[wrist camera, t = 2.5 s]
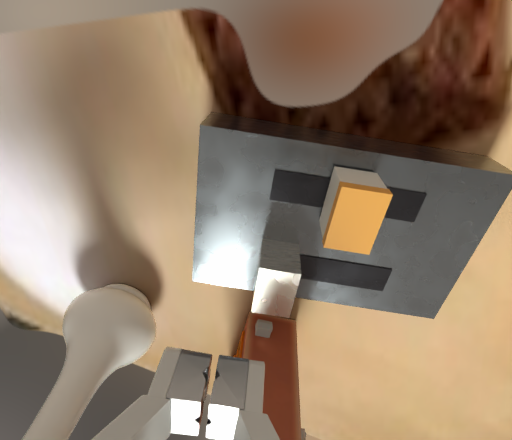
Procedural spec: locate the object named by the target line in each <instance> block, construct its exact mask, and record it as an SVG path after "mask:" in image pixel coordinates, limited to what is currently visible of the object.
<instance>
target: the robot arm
mask: <svg viewBox="0 0 512 440" xmlns="http://www.w3.org/2000/svg"><path fill="white" fill-rule="evenodd" d="M211 361H212V354H207V353H201V352H195V351H190V350H184V349H179V348H172V347H166V349H165V350H164V352H163V355H162V357H161V360H160V363H159V365H158V368H157V371H156V373H155V376H154V379H153V381H152V384H151V387H150V389H149V392H148V395H142V396H141V397H140V398H138V399H137V400H136V401H135V402H134V403H133V404H132V405H130V406H129V407H128V408H127V409H126V410H125V411H124V412H122V413H121V414H120V415H119V416H118V417H117V418H116V419H114V420H113V421H112V422H111V423H110V424H109V425H108V426H107V427H105V428H104V429H103V430H102V431H101V432H100V433H98V434H97V435H96V436H95V437H94V438H93V439H92V440H166V439H167V438H168V437H169V435H170V433H177V434H186V435H195V436H198V432H199V427H200V423H201V418H202V413H203V403H204V400H205V399H206V394H207V389H208V384H209V378H210V371H211V369H210V366H211ZM264 376H265V363H264V362H263V361H255V360H249V359H245V358H238V357H230V356H223V355H219V359H218V364H217V369H216V376H215V381H214V384H213V389H212V394H211V400H210V405H209V413H208V422H207V430H206V437H207V438H213V439H218V440H280V439H279V437H278V435H277V433H276V431H275V429H274V427H273V425H272V423H271V421H270V419H269V417H268V415H267V414H264V413H263V394H264Z"/></svg>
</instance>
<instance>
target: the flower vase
mask: <svg viewBox="0 0 512 440" xmlns="http://www.w3.org/2000/svg"><path fill="white" fill-rule="evenodd" d="M62 329H63V335H64V340H65V343H66V345H67V353H66V360H65V363H64V366H63V369H62V371H61V373H60V376H59V378H58V380H57V382H56V383H55V385H54V387H53V389H52V391H51V392H50V394H49V396H48V397H47V399H46V401H45V403H44V404H43V406H42V408H41V409H40V411H39V413H38V414H37V416H36V418H35V419H34V421H33V423H32V424H31V426H30V428H29V429H28V431H27V432H26V434H25V435H24V437H23V438H22V440H68V438H69V437H70V435H71V433H72V431H73V430H74V428H75V426H76V424H77V423H78V421H79V419H80V417H81V415H82V414H83V412H84V410H85V408H86V407H87V405H88V403H89V401H90V400H91V398H92V397H93V395H94V394H95V392H96V391H97V389H98V388H99V387H100V385H101V384H102V382H103V381H104V380H105V379H106V378H107V377H108V376H109V375H110V374H111V373H113V372H114V371H115V370H116V369H118V368H120V367H124V366H126V365H128V364H131V363H133V362H135V361H136V360H138V359H140V358H141V357H142V356H143V355H144V354H145V353H146V352H147V351H148V350H149V349H150V347H151V346H152V344H153V342H154V339H155V337H156V322H155V319H154V316H153V313H152V311H151V306H150V303H149V301H148V299H147V298H146V296H145V295H144V294H143V293H141V292H140V291H139V290H137V289H136V288H134V287H131V286H129V285H125V284H110V285H106V286H105V287H103V288H97V289H93V290H89V291H86V292H84V293H82V294H81V295H79V296H77V297H76V298H74V300H73V301H72V302H71V303H70V305H69V306H68V308H67V309H66V312H65V315H64V319H63V324H62Z"/></svg>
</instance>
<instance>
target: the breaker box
mask: <svg viewBox="0 0 512 440" xmlns="http://www.w3.org/2000/svg"><path fill="white" fill-rule="evenodd" d="M334 166H336V167H342V168H349V169H355V170H361V171H367V172H374V173H377V174H378V175H379V177H380V178H381V180H382V181H383V183H384V184H385V186H386V187H387V189H389V190H390V191H391V193H392V194H393V196H392V199H391V201H390V204H389V206H388V209H387V211H386V214H385V216H384V219H383V221H382V224H381V226H380V229H379V231H378V234H377V236H376V239H375V241H374V244H373V246H372V249H371V252H370V254H369V255H367V254H361V253H354V252H348V251H342V250H335V249H329V248H323V243H322V240H323V238H322V232H321V227H320V222H319V219H320V216H321V212H322V208H323V205H324V201H325V198H326V194H327V190H328V187H329V183H330V180H331V176H332V173H333V169H334ZM511 189H512V171H511V170H509V169H508V168H506V167H504V166H503V165H501V164H499V163H498V162H496V161H494V160H493V159H491V158H490V157H488V156H483V155H476V154H470V153H464V152H458V151H451V150H445V149H439V148H433V147H426V146H420V145H414V144H408V143H401V142H395V141H389V140H383V139H377V138H370V137H364V136H358V135H352V134H345V133H339V132H333V131H327V130H320V129H314V128H308V127H302V126H295V125H289V124H283V123H277V122H271V121H264V120H258V119H252V118H246V117H239V116H233V115H227V114H221V113H214V112H211V113H210V114H209V115H208V116H207V118H206V119H205V120H204V121H203V122H202V123H201V124H200V137H199V156H198V176H197V196H196V215H195V235H194V255H193V274H192V281H194V282H201V283H207V284H213V285H220V286H226V287H233V288H239V289H246V290H252V291H254V292H253V301H252V310H251V312H254V313H260V314H267V315H273V316H279V317H286V318H290V314H291V310H292V307H293V303H294V300H295V297H297V298H303V299H310V300H316V301H323V302H329V303H336V304H342V305H348V306H355V307H361V308H368V309H374V310H381V311H387V312H393V313H400V314H406V315H413V316H419V317H426V318H432V319H434V318H435V316H436V314H437V313H438V311H439V309H440V308H441V306H442V304H443V303H444V301H445V299H446V298H447V296H448V294H449V293H450V291H451V289H452V288H453V286H454V284H455V283H456V281H457V279H458V278H459V276H460V274H461V273H462V271H463V269H464V268H465V266H466V264H467V263H468V261H469V259H470V258H471V256H472V254H473V253H474V251H475V249H476V248H477V246H478V244H479V243H480V241H481V239H482V238H483V236H484V234H485V233H486V231H487V229H488V228H489V226H490V224H491V223H492V221H493V219H494V218H495V216H496V214H497V213H498V211H499V209H500V208H501V206H502V204H503V203H504V201H505V199H506V198H507V196H508V194H509V193H510V191H511Z"/></svg>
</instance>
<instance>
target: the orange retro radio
mask: <svg viewBox="0 0 512 440" xmlns="http://www.w3.org/2000/svg"><path fill="white" fill-rule="evenodd" d="M233 357H238V358H245V359H249V360H255V361H263V362H264V363H265V376H264V394H263V413H264V414H267V415H268V417H269V419H270V421H271V423H272V425H273V427H274V429H275V431H276V433H277V435H278V437H279V439H280V440H305V437H306V432H305V429H302V428H301V421H300V399H299V377H298V355H297V333H296V321H295V320H291V319H287V318H282V317H277V316H272V315H267V314H260V313H254V312H251V311H250V312H249V314H248V318H247V321H246V324H245V328H244V331H242V335H241V338H240V342H239V345H238V348H237V354H236V355H234V356H233ZM217 440H218V439H217Z"/></svg>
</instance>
